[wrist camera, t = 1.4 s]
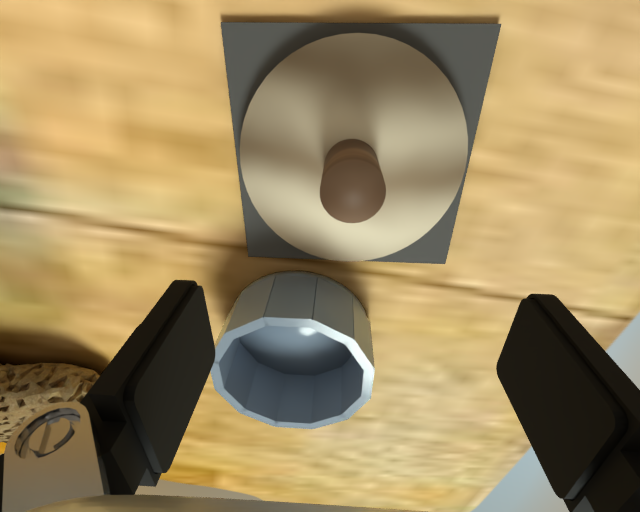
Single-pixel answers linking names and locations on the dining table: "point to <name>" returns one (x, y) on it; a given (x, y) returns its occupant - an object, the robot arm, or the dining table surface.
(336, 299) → the cup
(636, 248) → the dining table surface
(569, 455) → the robot arm
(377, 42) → the lid
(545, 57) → the dining table surface
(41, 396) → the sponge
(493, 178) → the dining table surface
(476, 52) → the mat
